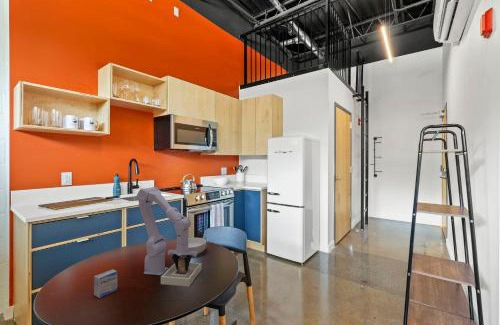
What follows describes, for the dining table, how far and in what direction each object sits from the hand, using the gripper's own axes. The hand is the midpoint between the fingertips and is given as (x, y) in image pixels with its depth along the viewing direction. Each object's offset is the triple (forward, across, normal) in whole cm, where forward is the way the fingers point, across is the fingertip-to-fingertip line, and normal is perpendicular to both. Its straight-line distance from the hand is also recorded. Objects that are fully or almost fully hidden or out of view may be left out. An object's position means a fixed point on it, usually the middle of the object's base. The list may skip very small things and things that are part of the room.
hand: (182, 269), depth 122 cm
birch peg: (+2, 0, 0) cm, 2 cm away
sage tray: (+4, 0, 0) cm, 4 cm away
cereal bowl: (+4, -6, +29) cm, 30 cm away
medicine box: (+4, -27, -19) cm, 33 cm away
